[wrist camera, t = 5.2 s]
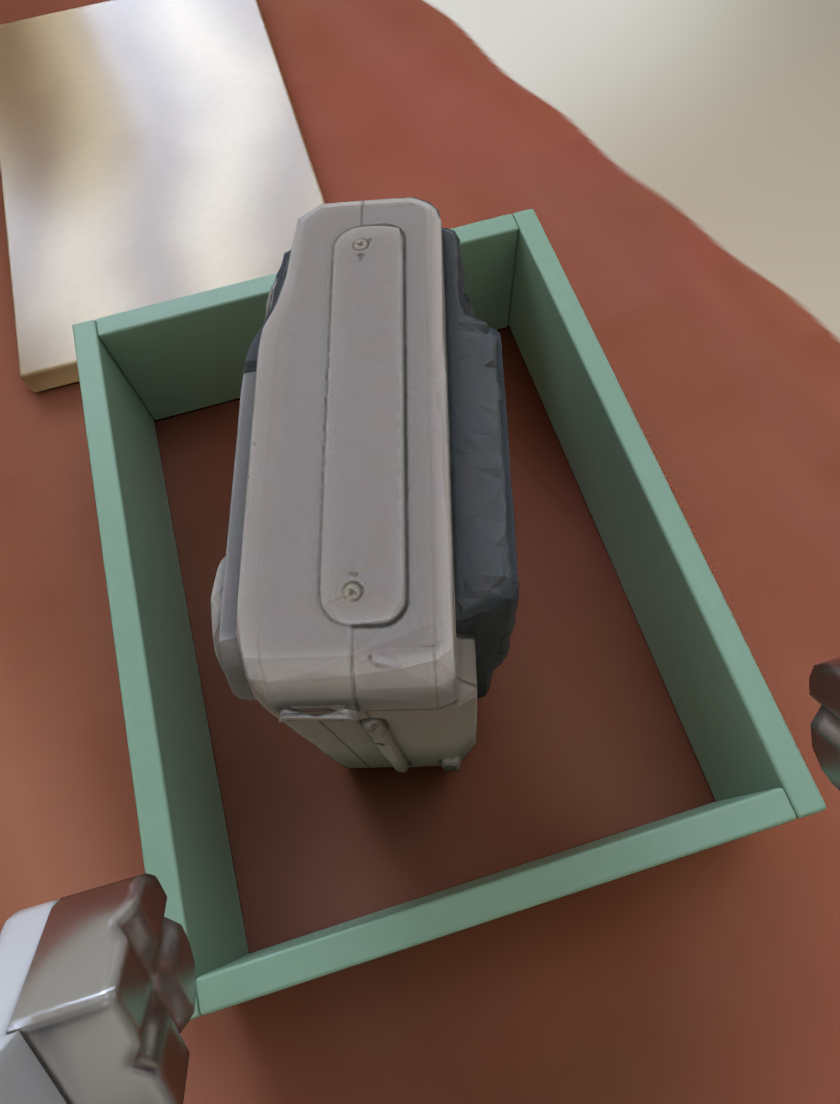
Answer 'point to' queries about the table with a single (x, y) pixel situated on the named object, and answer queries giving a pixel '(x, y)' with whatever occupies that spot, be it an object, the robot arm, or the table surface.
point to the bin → (621, 519)
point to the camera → (370, 495)
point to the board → (141, 163)
